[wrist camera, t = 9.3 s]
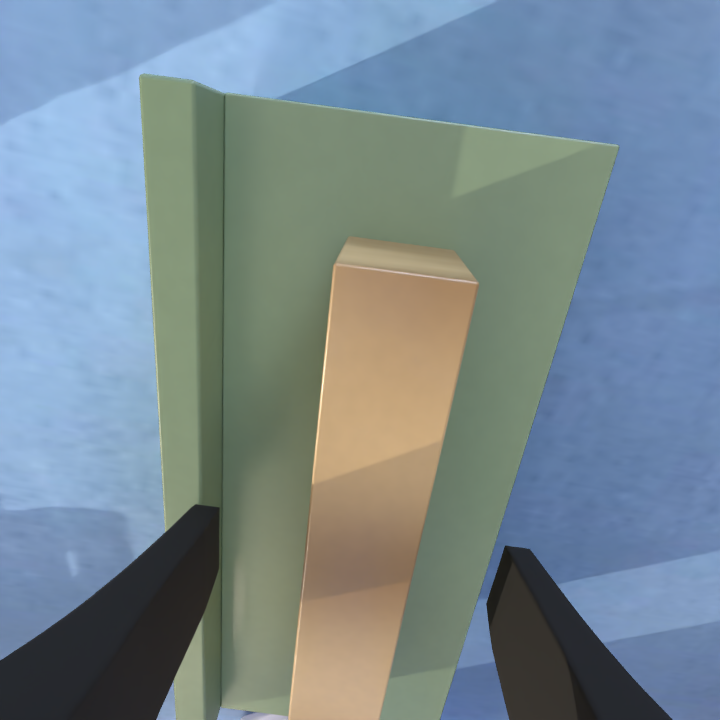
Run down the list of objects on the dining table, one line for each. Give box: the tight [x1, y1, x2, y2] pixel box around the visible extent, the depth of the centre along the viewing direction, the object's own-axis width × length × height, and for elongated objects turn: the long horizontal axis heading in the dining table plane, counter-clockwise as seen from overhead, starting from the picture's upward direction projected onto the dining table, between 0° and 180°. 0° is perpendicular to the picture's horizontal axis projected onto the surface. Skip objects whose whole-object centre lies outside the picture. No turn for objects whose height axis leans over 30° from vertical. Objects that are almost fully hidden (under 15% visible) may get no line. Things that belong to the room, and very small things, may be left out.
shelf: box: [139, 74, 619, 720], centre depth 15 cm, size 20×9×6 cm, turn 173°
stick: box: [288, 236, 479, 720], centre depth 12 cm, size 15×2×3 cm, turn 173°
